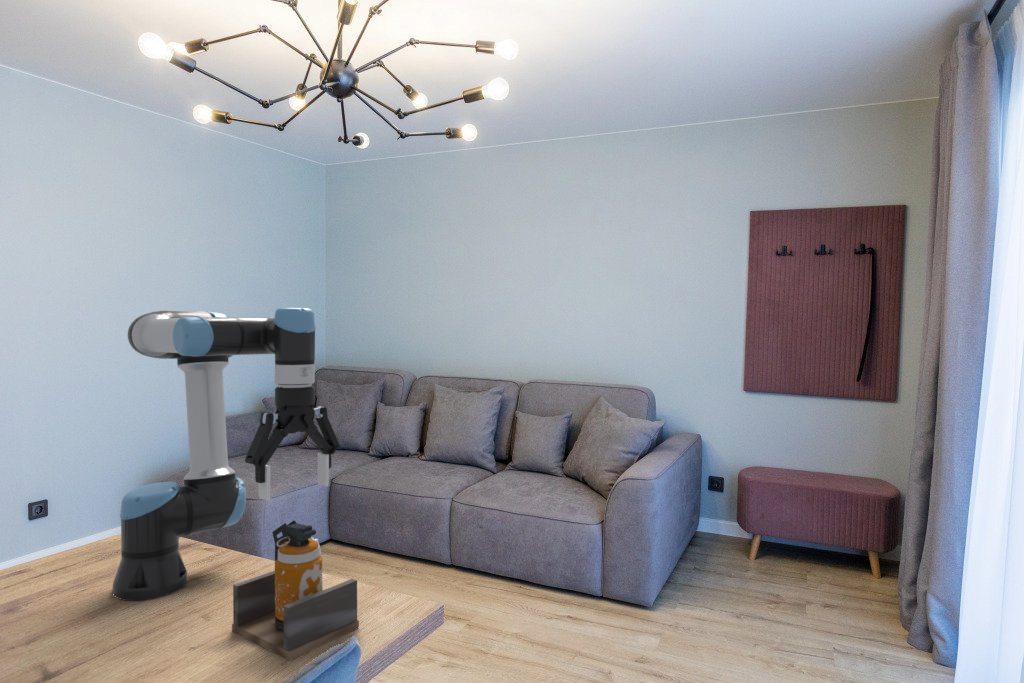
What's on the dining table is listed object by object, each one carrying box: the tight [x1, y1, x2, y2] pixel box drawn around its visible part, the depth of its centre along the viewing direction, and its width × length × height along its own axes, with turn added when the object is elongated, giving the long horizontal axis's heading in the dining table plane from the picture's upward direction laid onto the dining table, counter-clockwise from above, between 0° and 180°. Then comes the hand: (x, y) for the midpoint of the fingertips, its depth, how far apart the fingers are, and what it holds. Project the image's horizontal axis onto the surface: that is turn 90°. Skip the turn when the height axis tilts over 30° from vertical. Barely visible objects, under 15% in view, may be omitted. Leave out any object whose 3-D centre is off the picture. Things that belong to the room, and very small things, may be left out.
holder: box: [231, 570, 360, 661], centre depth 130 cm, size 19×16×10 cm
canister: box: [271, 519, 323, 630], centre depth 129 cm, size 9×11×20 cm
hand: (295, 492), depth 129 cm, fingers open, 13 cm apart
